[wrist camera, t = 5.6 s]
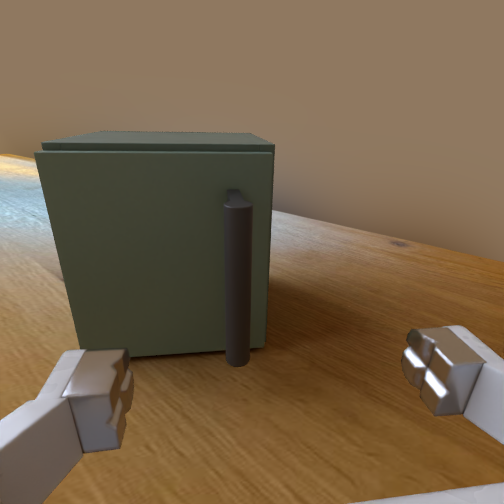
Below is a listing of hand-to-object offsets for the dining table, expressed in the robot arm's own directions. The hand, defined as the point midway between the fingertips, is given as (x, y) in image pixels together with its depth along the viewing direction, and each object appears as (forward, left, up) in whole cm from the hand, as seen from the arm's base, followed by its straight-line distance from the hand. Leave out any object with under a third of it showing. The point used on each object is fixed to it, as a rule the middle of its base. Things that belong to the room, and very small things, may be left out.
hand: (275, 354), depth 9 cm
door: (+14, +5, -13) cm, 20 cm away
